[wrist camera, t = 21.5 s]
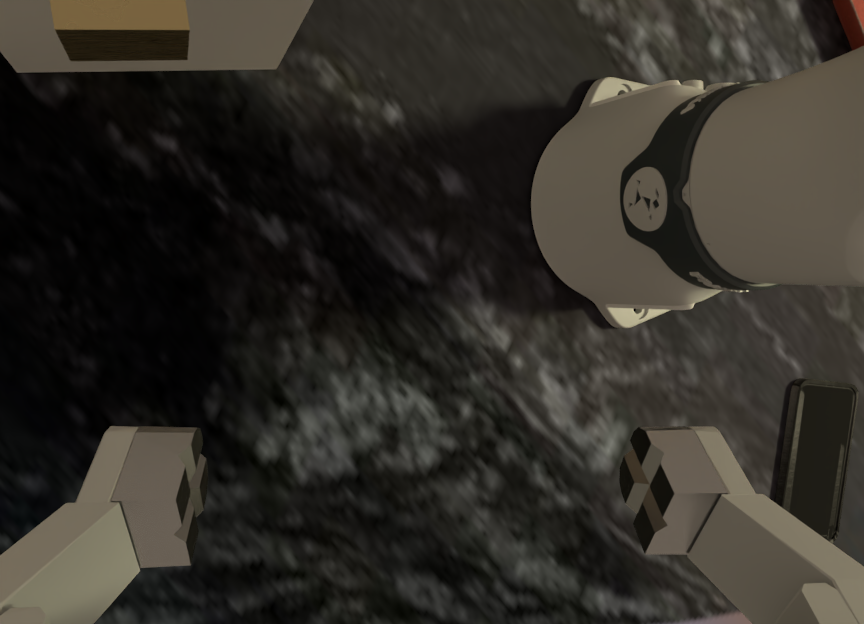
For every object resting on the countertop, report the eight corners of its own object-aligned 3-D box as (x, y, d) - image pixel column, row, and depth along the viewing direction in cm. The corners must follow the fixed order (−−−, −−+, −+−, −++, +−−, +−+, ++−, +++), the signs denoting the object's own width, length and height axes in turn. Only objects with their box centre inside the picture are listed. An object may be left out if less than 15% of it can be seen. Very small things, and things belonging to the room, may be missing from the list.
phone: (776, 545, 59) (800, 378, 58) (765, 540, 60) (789, 376, 59) (837, 544, 62) (861, 385, 61) (826, 539, 63) (849, 383, 62)
